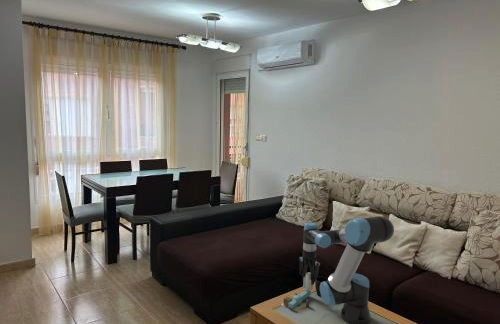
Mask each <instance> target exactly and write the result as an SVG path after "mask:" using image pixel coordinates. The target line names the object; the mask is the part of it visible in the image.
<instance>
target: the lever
mask: <svg viewBox="0 0 500 324" xmlns="http://www.w3.org/2000/svg"><path fill="white" fill-rule="evenodd" d="M310 279H311V273H310V272H306V275H305V288H304V290H303V291H301V292H299V293H298V294H297V295H294V294H293V297H292V298H293V300H292V301H290V302H289V303H288V307H290V308H292V309H293V308H294V307H295V306H297V305H299V304H301V303H302V302H303V301H305V300H306V299H308V298H309V296H311V293H312V290H309V286H310ZM290 308H289V309H290ZM292 309H291V310H292Z"/></svg>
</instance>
